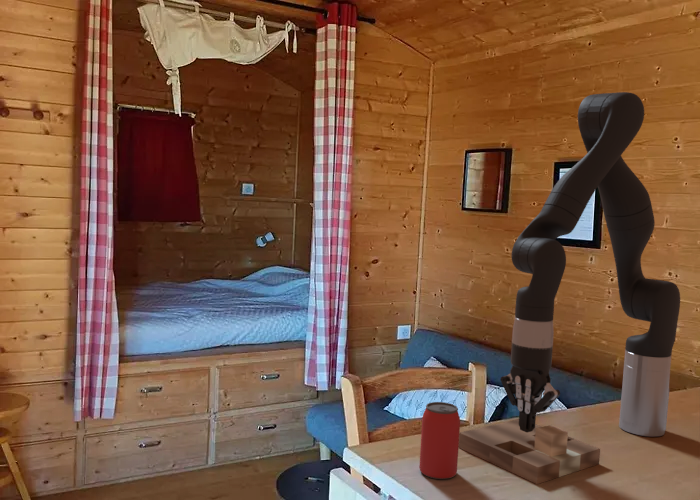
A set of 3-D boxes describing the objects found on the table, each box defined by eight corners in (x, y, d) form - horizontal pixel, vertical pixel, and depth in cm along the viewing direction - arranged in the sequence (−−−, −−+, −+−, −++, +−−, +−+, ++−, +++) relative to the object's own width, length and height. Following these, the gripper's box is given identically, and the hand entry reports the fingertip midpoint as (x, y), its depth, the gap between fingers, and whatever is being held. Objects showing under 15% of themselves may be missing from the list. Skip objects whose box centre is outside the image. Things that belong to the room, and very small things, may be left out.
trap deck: (519, 432, 141) (520, 418, 140) (599, 464, 125) (600, 448, 125) (458, 447, 130) (459, 432, 130) (536, 484, 115) (538, 467, 115)
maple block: (550, 445, 125) (551, 425, 125) (566, 453, 122) (568, 432, 121) (534, 448, 123) (535, 427, 123) (550, 456, 120) (552, 434, 119)
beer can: (433, 483, 113) (437, 414, 112) (412, 468, 119) (415, 402, 118) (464, 477, 116) (468, 410, 115) (442, 463, 122) (446, 399, 121)
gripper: (574, 347, 123) (567, 438, 125) (517, 333, 134) (512, 417, 136) (548, 351, 119) (542, 445, 120) (492, 336, 130) (487, 423, 131)
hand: (526, 430), depth 128 cm, fingers closed
